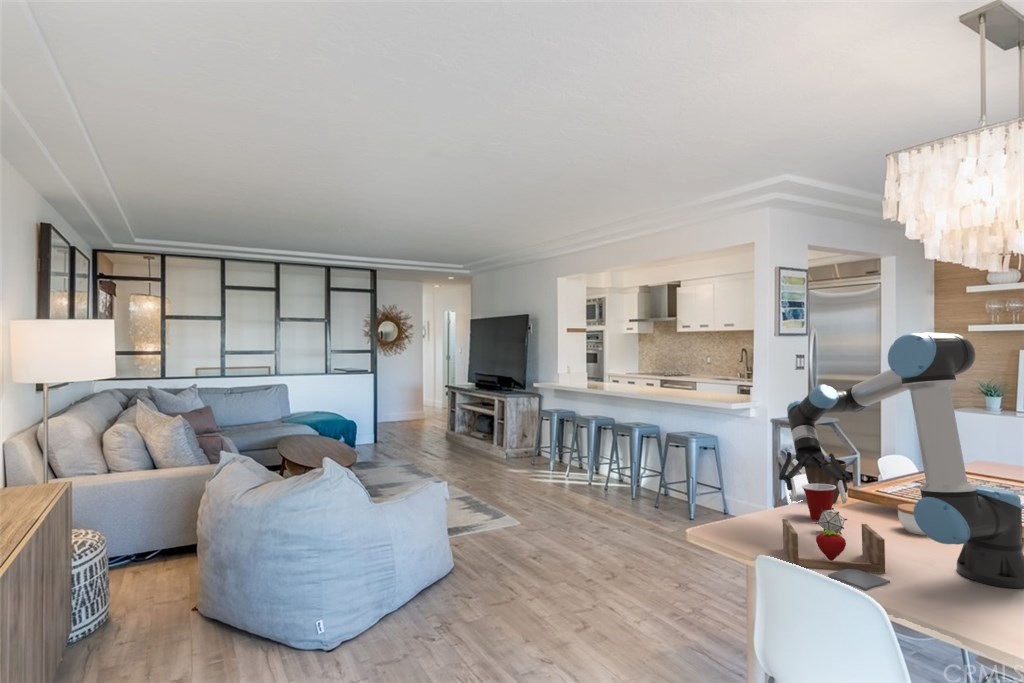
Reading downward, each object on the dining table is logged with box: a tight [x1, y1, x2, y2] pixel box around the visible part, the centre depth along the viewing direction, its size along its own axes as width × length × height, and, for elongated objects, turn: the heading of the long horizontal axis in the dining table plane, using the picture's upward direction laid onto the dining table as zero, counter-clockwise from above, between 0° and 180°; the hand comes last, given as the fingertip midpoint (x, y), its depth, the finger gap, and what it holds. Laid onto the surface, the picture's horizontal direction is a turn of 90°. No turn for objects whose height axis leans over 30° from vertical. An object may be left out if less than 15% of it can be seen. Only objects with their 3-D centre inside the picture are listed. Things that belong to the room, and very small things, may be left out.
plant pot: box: [804, 458, 847, 505], centre depth 221 cm, size 15×15×16 cm
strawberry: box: [815, 526, 847, 561], centre depth 160 cm, size 6×8×10 cm
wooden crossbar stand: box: [782, 518, 886, 574], centre depth 160 cm, size 14×22×9 cm, turn 75°
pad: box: [827, 568, 891, 591], centre depth 146 cm, size 10×10×1 cm
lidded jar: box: [897, 502, 927, 536], centre depth 183 cm, size 11×11×9 cm
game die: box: [814, 507, 848, 535], centre depth 183 cm, size 9×8×10 cm
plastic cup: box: [801, 483, 836, 522], centre depth 198 cm, size 11×11×12 cm
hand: (819, 500), depth 170 cm, fingers open, 13 cm apart
